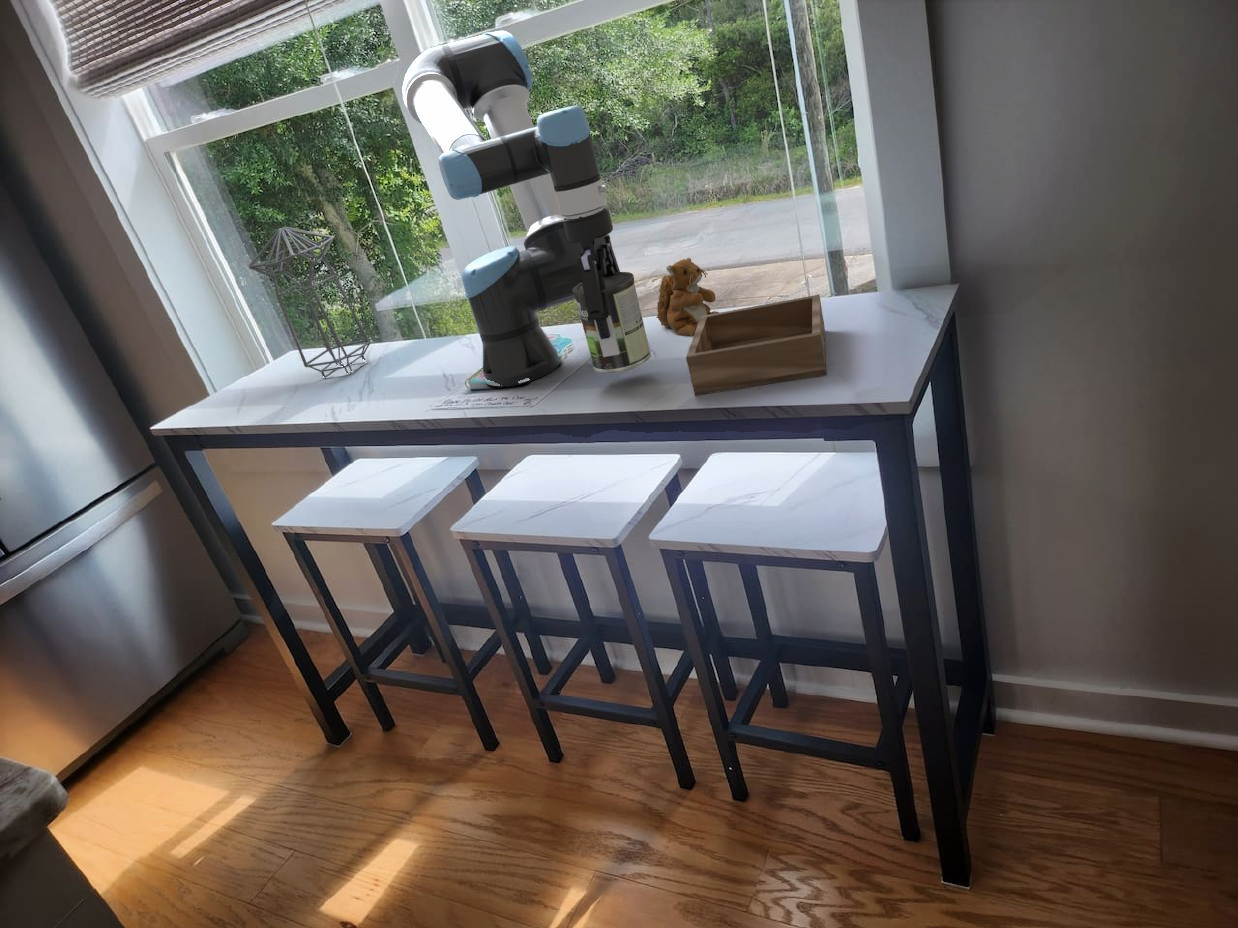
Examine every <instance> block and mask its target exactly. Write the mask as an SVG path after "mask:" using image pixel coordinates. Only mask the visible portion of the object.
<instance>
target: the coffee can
mask: <svg viewBox="0 0 1238 928" xmlns="http://www.w3.org/2000/svg"><path fill="white" fill-rule="evenodd" d="M604 281H605V289H604V290H603V291H604V295H605V298H606V302H607V309H608V316H610V315H611V319H612V323H613V327H614V331H615V335H616V339H617V343H618V346H619V350H620V354H619V355H613V356H607V357H603V353H602V349H601V346H600V342H599V338H598V334H597V330H596V327H595V323H594V320H593V321H588V319H587V317H588V313H587V307H586V301H585V296H584V290H583V285H582V282H581V283H579V284H577V285H576V286H575V287H574V288H573V294H574V295H575V299H576V300H575V302H576V305H577V308H578V313H579V317H580V320H581V325H582V329H583V331H584V336H585V339H586V343H587V347H588V350H589V356H590V358H591V359H590V360H591V363H592V368H593V371H595V372H597V373H601V374H613V373H614V374H615V373H621V372H625V371H629V370H633V369H635V368H638V367H640V366H642V365H643V364H645V363H646V362H647V361H649V359H650V358H651V357H652V352H651V350H650V346H649V340H648V337H647V336H648V335H647V333H646V329H645V328H646V327H645V324H644V319H643V315H642V311H641V306H640V302H639V297H638V292H637V289H636V284H635V276H634V274H633V273H632V272H629V271H620V272H615V275H614V276H608V277H604ZM603 291H601V292H603ZM596 311H599V310H596Z"/></svg>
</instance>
